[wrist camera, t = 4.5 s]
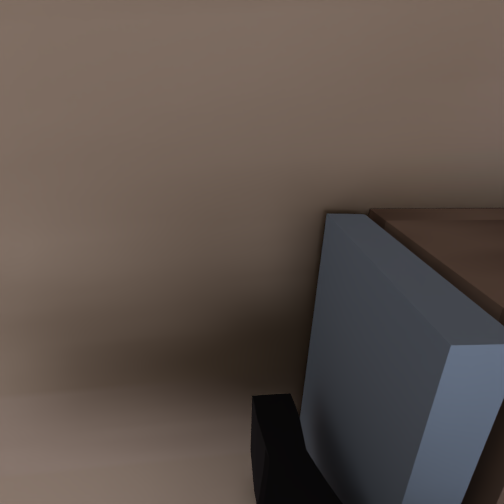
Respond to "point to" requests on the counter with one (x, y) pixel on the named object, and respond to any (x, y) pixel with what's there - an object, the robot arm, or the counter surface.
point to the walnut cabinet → (470, 284)
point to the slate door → (396, 373)
